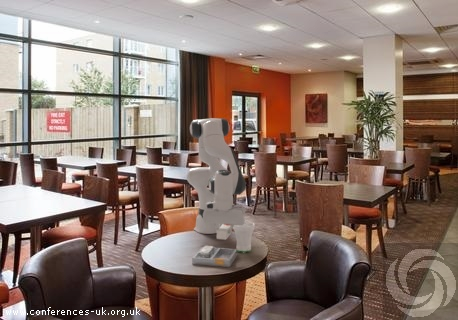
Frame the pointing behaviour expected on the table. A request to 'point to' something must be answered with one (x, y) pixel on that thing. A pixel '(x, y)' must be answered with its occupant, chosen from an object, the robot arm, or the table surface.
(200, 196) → the robot arm
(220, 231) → the white rectangular block
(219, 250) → the tray
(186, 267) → the table surface
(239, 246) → the cup
